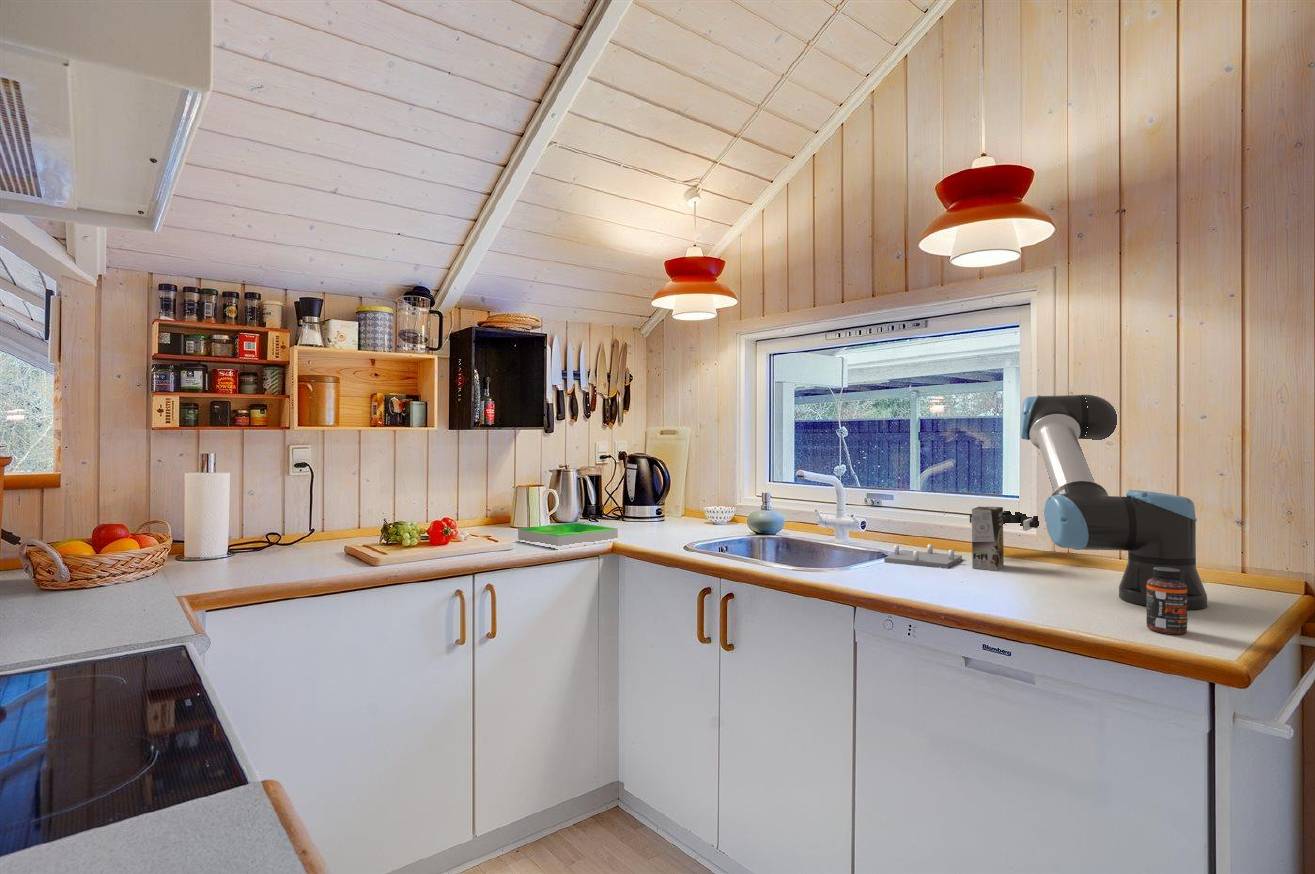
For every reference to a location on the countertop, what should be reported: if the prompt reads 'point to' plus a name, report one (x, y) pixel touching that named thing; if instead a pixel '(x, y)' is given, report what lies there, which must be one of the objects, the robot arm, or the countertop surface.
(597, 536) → the tray
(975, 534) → the coffee box
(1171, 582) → the supplement bottle
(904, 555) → the cradle
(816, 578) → the countertop surface
